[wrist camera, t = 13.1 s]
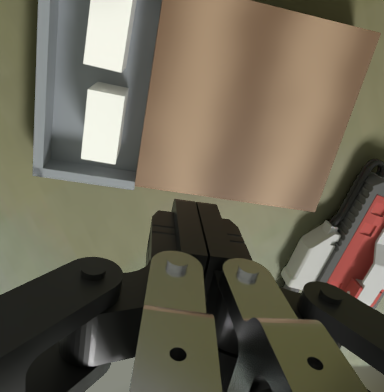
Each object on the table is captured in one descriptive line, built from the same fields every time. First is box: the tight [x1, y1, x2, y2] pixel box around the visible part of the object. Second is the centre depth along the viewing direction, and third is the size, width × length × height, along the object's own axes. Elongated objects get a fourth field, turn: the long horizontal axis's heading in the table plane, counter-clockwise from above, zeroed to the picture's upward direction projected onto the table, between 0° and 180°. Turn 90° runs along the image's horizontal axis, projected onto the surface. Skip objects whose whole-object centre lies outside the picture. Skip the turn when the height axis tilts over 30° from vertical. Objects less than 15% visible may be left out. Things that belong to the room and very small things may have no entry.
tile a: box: [83, 0, 137, 73], centre depth 20 cm, size 4×4×2 cm
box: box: [33, 0, 162, 190], centre depth 22 cm, size 6×13×2 cm, turn 168°
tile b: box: [81, 82, 129, 164], centre depth 22 cm, size 4×4×2 cm
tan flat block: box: [135, 0, 381, 212], centre depth 23 cm, size 13×12×3 cm
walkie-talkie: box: [281, 159, 384, 309], centre depth 30 cm, size 9×4×20 cm
